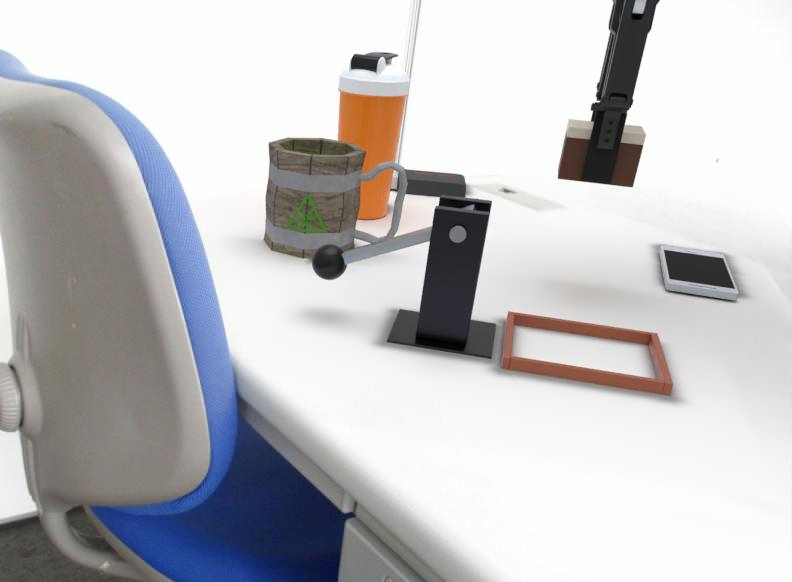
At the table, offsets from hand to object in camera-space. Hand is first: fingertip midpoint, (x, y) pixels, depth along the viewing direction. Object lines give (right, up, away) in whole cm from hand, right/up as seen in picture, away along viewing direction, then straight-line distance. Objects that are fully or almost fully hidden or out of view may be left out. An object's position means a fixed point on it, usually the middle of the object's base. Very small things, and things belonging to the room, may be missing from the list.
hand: (595, 175), depth 87 cm
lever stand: (-17, -17, -8) cm, 26 cm away
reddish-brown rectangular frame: (-6, -19, -10) cm, 23 cm away
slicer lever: (-21, -10, -10) cm, 26 cm away
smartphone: (+17, -8, +14) cm, 23 cm away
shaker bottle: (-20, +3, +31) cm, 37 cm away
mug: (-25, -6, +14) cm, 30 cm away
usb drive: (-9, +9, +43) cm, 45 cm away
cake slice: (0, 0, 0) cm, 0 cm away
